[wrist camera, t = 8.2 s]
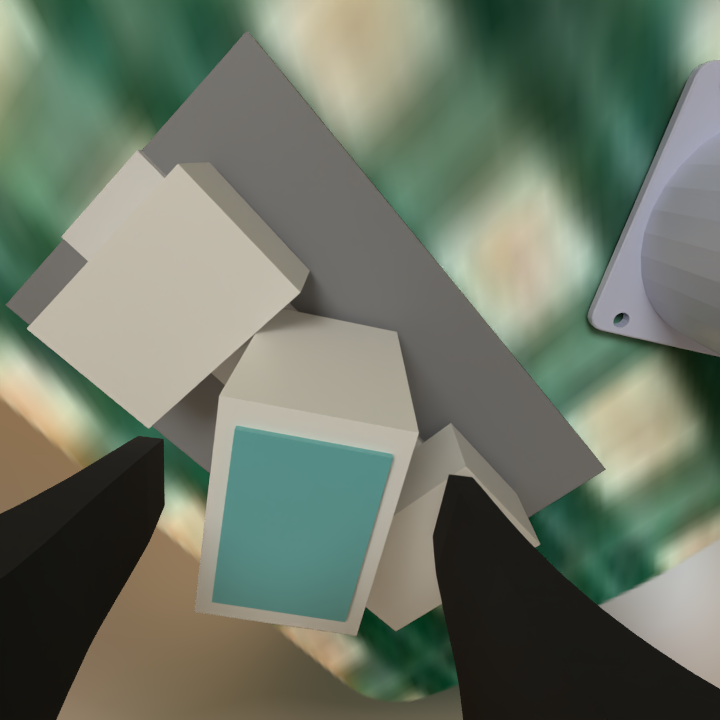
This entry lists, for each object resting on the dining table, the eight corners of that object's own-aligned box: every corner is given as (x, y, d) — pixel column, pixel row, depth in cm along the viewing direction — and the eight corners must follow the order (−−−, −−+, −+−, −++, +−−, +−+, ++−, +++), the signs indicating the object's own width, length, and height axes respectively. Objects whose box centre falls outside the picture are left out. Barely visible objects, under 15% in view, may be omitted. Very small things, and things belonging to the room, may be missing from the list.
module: (396, 331, 15) (420, 436, 10) (356, 484, 17) (356, 641, 12) (271, 305, 15) (216, 399, 9) (247, 464, 17) (192, 617, 11)
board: (591, 450, 19) (647, 523, 15) (376, 588, 22) (380, 677, 18) (256, 41, 13) (217, -4, 10) (29, 295, 16) (-67, 335, 13)
